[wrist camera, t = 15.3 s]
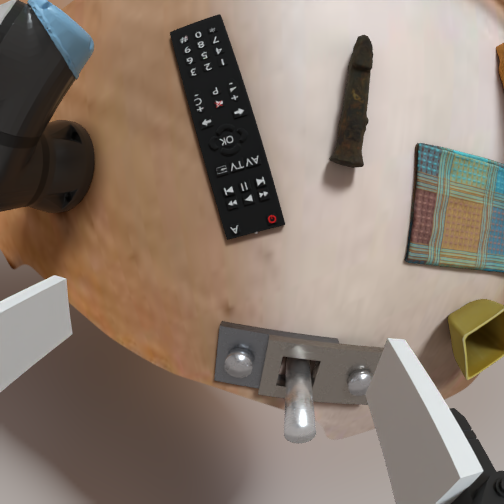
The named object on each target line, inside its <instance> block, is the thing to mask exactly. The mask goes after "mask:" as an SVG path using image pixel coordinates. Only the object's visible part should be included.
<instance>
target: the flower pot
mask: <svg viewBox="0 0 504 504" xmlns="http://www.w3.org/2000/svg"><path fill="white" fill-rule="evenodd" d="M448 324H449V329H450V335H451V342H452V349H453V354H454V357H455V360H456V362H457V364H458V366H459V367H460V369H461V371H462V373H463V375H464V376H465V378H466V380H469V379H471V378H473V377H474V376H476V375H477V374H479V373H480V372H482V371H483V370H484V369H486V368H488V367H489V366H490V365H492V364H493V363H495V362H496V361H498V360H499V359H500V358H502V357H503V356H504V305H501V304H499V303H496V302H494V301H491V300H487V299H480V300H475V301H472V302H470V303H468V304H466V305H465V306H463V307H462V308H460V309H458V310H457V311H455V312H453V313H451V314H450V315H449V316H448Z"/></svg>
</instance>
